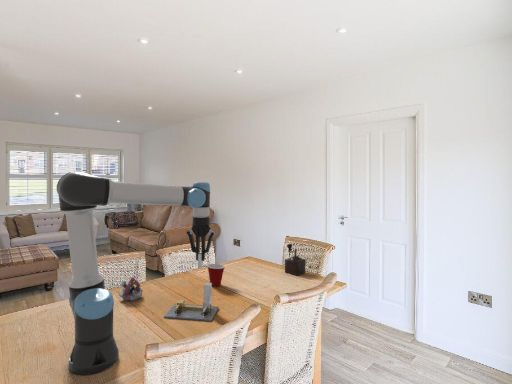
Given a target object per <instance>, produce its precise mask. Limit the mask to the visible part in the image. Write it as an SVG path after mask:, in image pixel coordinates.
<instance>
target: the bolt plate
mask: <svg viewBox="0 0 512 384" xmlns="http://www.w3.org/2000/svg"><path fill="white" fill-rule="evenodd" d="M176 304H177V303H174V304H173V305H172V306H171V307H170V309H168V311H166V312H165V314H164V315H163V318H164V319H176V320H190V321H202V322H212V321H213V320H214V318H215V316H216V314H217V313H218V311H219V308H220V306H213V305H212V307H213V310H212V311H209V312H206V314H204V312H203V310H191V309H182V310H178V312H177V310H175V305H176ZM185 305H191V306H203V304H202V305H200V304H186V303H185Z"/></svg>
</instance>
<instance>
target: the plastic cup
mask: <svg viewBox="0 0 512 384" xmlns="http://www.w3.org/2000/svg"><path fill="white" fill-rule="evenodd" d="M206 267H207V271H208V279H209V283H212V288H218V287H220V286H221V284H222V279H223V275H224V270H225V268H226V265H224V264H222V263H209V264H208V263H207V265H206Z"/></svg>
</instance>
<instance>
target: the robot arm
mask: <svg viewBox="0 0 512 384" xmlns="http://www.w3.org/2000/svg"><path fill="white" fill-rule="evenodd" d="M56 193H57V195H58V201H59V202H58V203H59V209H60V212H61V213H63V214H64V215H65V219H66V227H67V237H68V246H69V247H68V248H69V255H70V257H69V258H70V265H71V273H72V280H71V281H70V282H69V283H68V291H69V299H68V303H69V306H70V308H71V312H72V315H73V319H74V345H73V348H72V350H71V353H70V355H69V357H68V358H69V359H68V370H69V371H70V372H71V373H72V374H74V375H80V376H84V375H85V376H86V375H87V374H89V375H93V373H94V374H97V372H98V373H100V371H101V372H103V371H105V369H106V370H108V369H109V368H111V367H112V366H114V365H115V364H116V363H115V362H117V361H118V360H119V356H120V355H119V351H120V350H119V347H118V346H117V342H116V340H115V337H114V305H115V300H114V296H113V292H112V291H110V290H108V289H106V285H105V284H106V283H105V278H104V276H103V275H101V274H100V272H99V262H98V261H99V260H98V253H97V241H96V232H95V223H94V221H95V220H94V211H95V210H96V209H97V208H98V206H108V205H109V204H128V205H147V206H149V205H150V206H171V207H172V206H175V207H190V208H192V216H193V217H192V227H191V229H190V230H187V231H186V234H187V236H188V240H189V244H190V249H191V252H192V253H195V260H196V261H197V269H202V268H203V267H204V266H203V265H204V264H203V263H204V261H205V260H206V254H208V253H209V252H210V248H211V245H212V243H213V242H212V240H213V238H214V236H215V234H216V231H213V230H211V227H210V215H211V214H210V213H211V211H210V209H211V208H210V204H211V202H210V200H211V185H210V183H209V182H208V181H207V182H205V181H204V182H203V181H202V182H201V181H194V182H193V183H192V186H176V185H175V186H174V185H173V186H172V185H163V184H162V185H160V184H152V183H149V184H148V183H140V182H128V181H116V180H112V179H111V178H110V177H105V176H97V175H93V174H90V173H86V172H82V171H70V172H67V173H65V174H63V175H62V176H61V177H60V178H59V179H58V181H57V184H56ZM194 235H195V238H194ZM207 235H209V236H208V238H207V237H206V236H207ZM206 238H207V243H206ZM114 363H115V364H114ZM113 364H114V365H113ZM110 366H111V367H110ZM107 368H108V369H107ZM87 376H88V375H87Z"/></svg>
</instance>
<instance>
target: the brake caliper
mask: <svg viewBox="0 0 512 384" xmlns="http://www.w3.org/2000/svg"><path fill="white" fill-rule="evenodd" d="M120 286H121V287H122V289H121V290H122V291H121V292H122V293H121V292H120V293H118V294H117V295H118V296H119V297H120V298H122V300H123V301H125V300H126V302H128V300H129V302H135V300H136V301H137V300H139V299H141V296H143V292H144V290H143V289H142V288H141V284H140V282H138V281H137V280H136V278H135V277H133V276H132V277H130V280H129V281H128V283H126V280H125V281H124V280H122V281H121V283H120Z"/></svg>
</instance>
